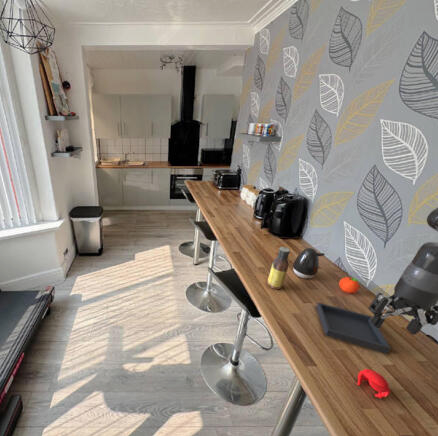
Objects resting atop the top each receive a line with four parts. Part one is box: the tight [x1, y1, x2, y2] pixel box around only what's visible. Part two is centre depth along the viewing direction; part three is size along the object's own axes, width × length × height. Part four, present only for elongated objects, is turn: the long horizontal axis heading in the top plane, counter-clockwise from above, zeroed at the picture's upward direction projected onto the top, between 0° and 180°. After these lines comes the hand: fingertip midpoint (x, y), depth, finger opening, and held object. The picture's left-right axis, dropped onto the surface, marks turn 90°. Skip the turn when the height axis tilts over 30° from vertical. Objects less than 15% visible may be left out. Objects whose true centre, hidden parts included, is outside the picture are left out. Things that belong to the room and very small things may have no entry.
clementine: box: [338, 276, 362, 294], centre depth 105 cm, size 8×7×7 cm
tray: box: [315, 302, 391, 354], centre depth 87 cm, size 18×15×3 cm
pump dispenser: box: [292, 247, 326, 280], centre depth 113 cm, size 10×10×15 cm
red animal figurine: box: [357, 368, 391, 399], centre depth 67 cm, size 8×6×6 cm
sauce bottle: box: [266, 246, 291, 290], centre depth 104 cm, size 7×6×20 cm
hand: (392, 328), depth 66 cm, fingers open, 8 cm apart
